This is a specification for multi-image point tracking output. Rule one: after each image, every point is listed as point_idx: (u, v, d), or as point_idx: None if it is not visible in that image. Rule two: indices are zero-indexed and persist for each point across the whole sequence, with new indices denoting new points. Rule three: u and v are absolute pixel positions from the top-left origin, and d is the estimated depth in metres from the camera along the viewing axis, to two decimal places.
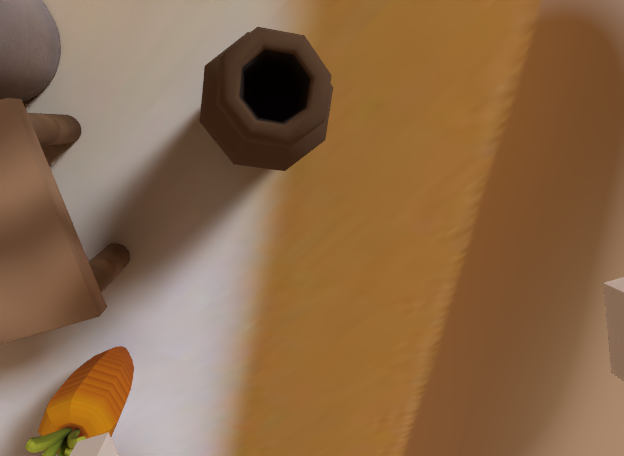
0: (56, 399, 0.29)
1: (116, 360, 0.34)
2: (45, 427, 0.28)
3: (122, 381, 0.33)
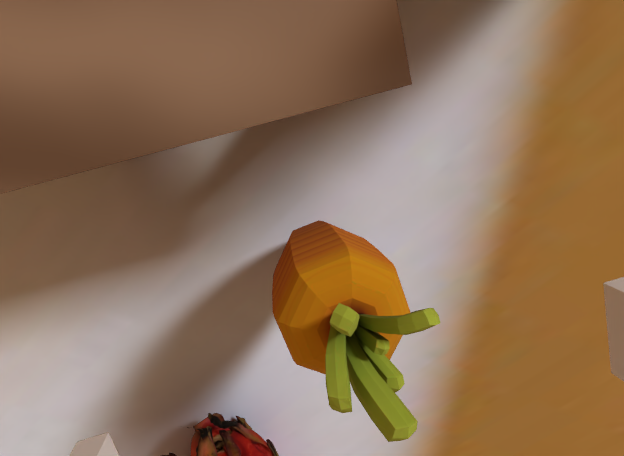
0: (308, 260, 0.15)
1: None
2: (300, 308, 0.14)
3: None
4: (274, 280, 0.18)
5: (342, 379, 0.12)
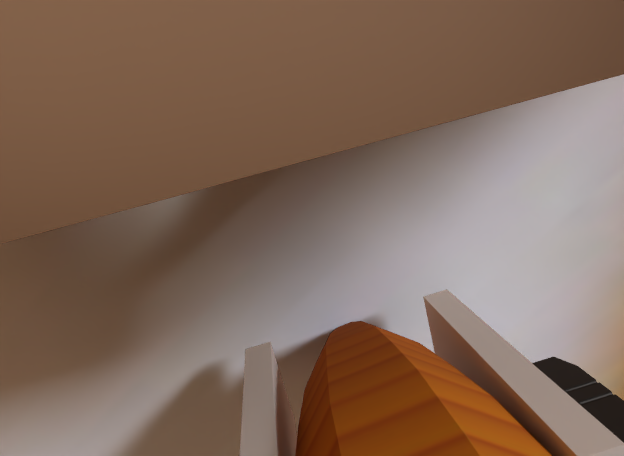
0: None
1: (436, 361, 0.10)
2: None
3: None
4: None
5: None
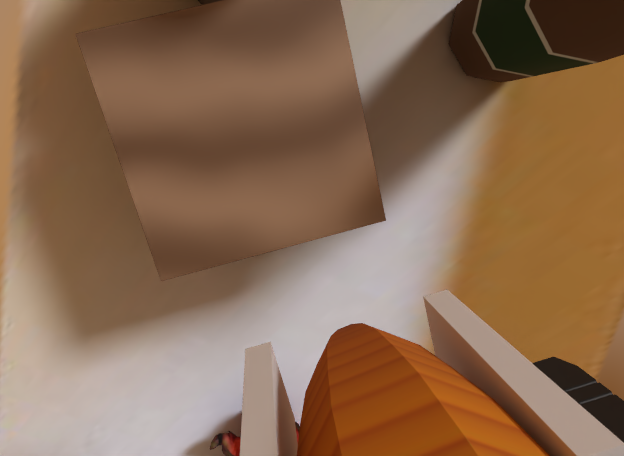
0: None
1: (437, 363, 0.10)
2: None
3: None
4: None
5: None
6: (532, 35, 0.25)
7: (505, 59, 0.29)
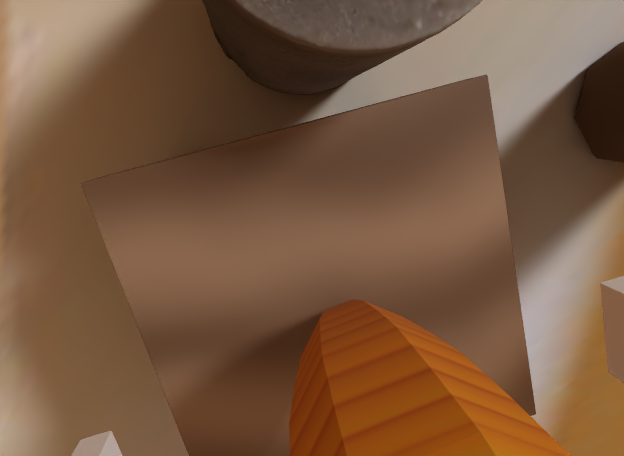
0: None
1: (416, 327, 0.11)
2: None
3: None
4: (293, 450, 0.09)
5: None
6: None
7: None
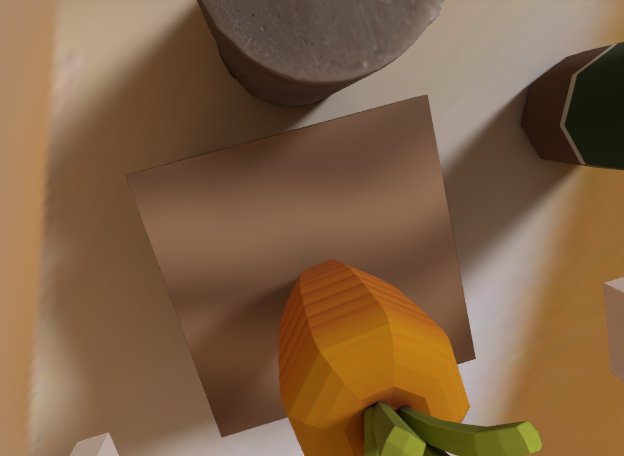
0: (331, 328, 0.11)
1: (366, 273, 0.16)
2: (320, 400, 0.10)
3: None
4: (280, 342, 0.14)
5: None
6: None
7: (602, 160, 0.26)
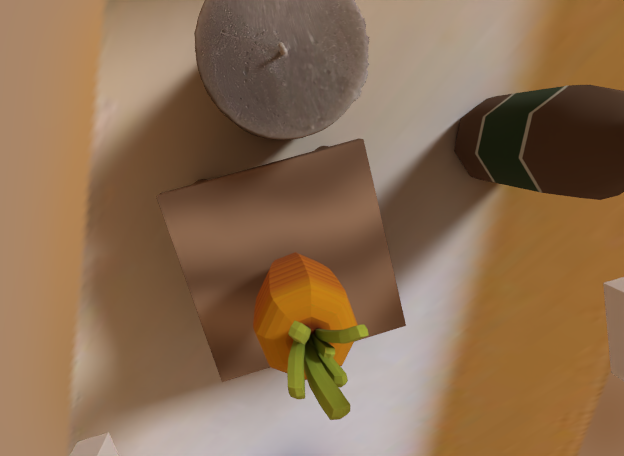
0: (280, 288, 0.20)
1: (315, 261, 0.25)
2: (272, 324, 0.19)
3: None
4: (256, 301, 0.23)
5: (298, 375, 0.16)
6: (525, 176, 0.31)
7: (503, 180, 0.34)
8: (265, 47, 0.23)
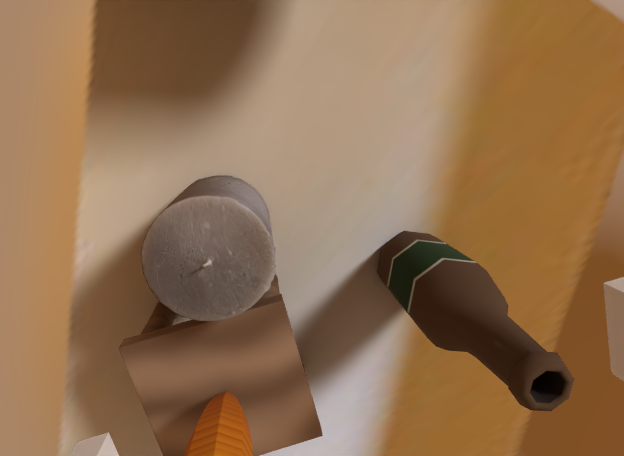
0: None
1: (235, 411, 0.33)
2: None
3: (246, 435, 0.31)
4: (185, 453, 0.31)
5: None
6: (415, 322, 0.39)
7: (407, 312, 0.42)
8: (195, 260, 0.31)
